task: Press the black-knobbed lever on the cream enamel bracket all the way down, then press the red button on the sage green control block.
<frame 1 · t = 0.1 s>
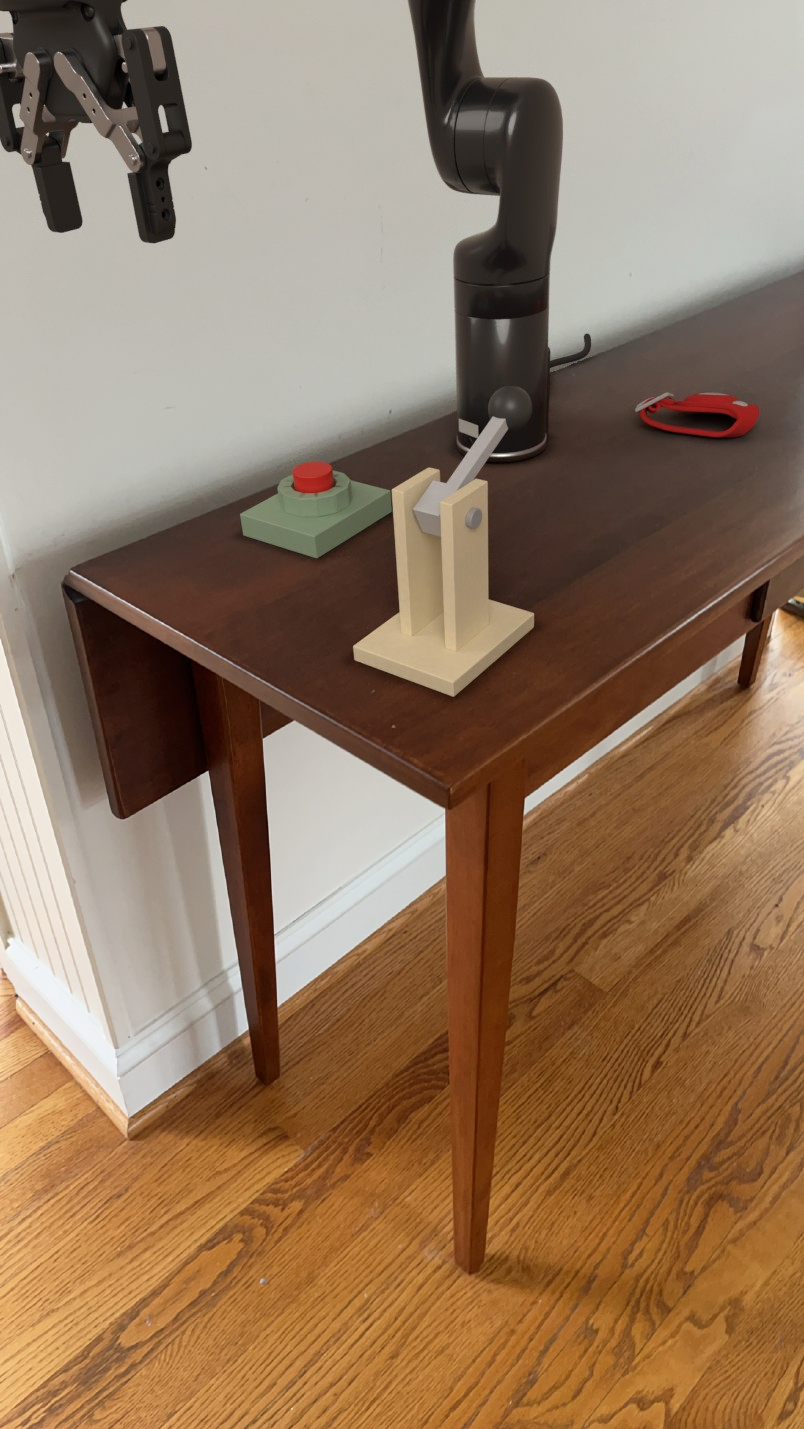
hand: (110, 235, 62), 29 cm above the table, tool pointing down, fingers open, 8 cm apart
lever bracket: (445, 643, 77), on the table
button block: (318, 523, 95), on the table
stop button: (313, 478, 93), point 4 cm above the table, slide at 0.1 cm
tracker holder: (694, 427, 110), on the table
press lever: (476, 457, 72), point 13 cm above the table, hinge at 25.0°
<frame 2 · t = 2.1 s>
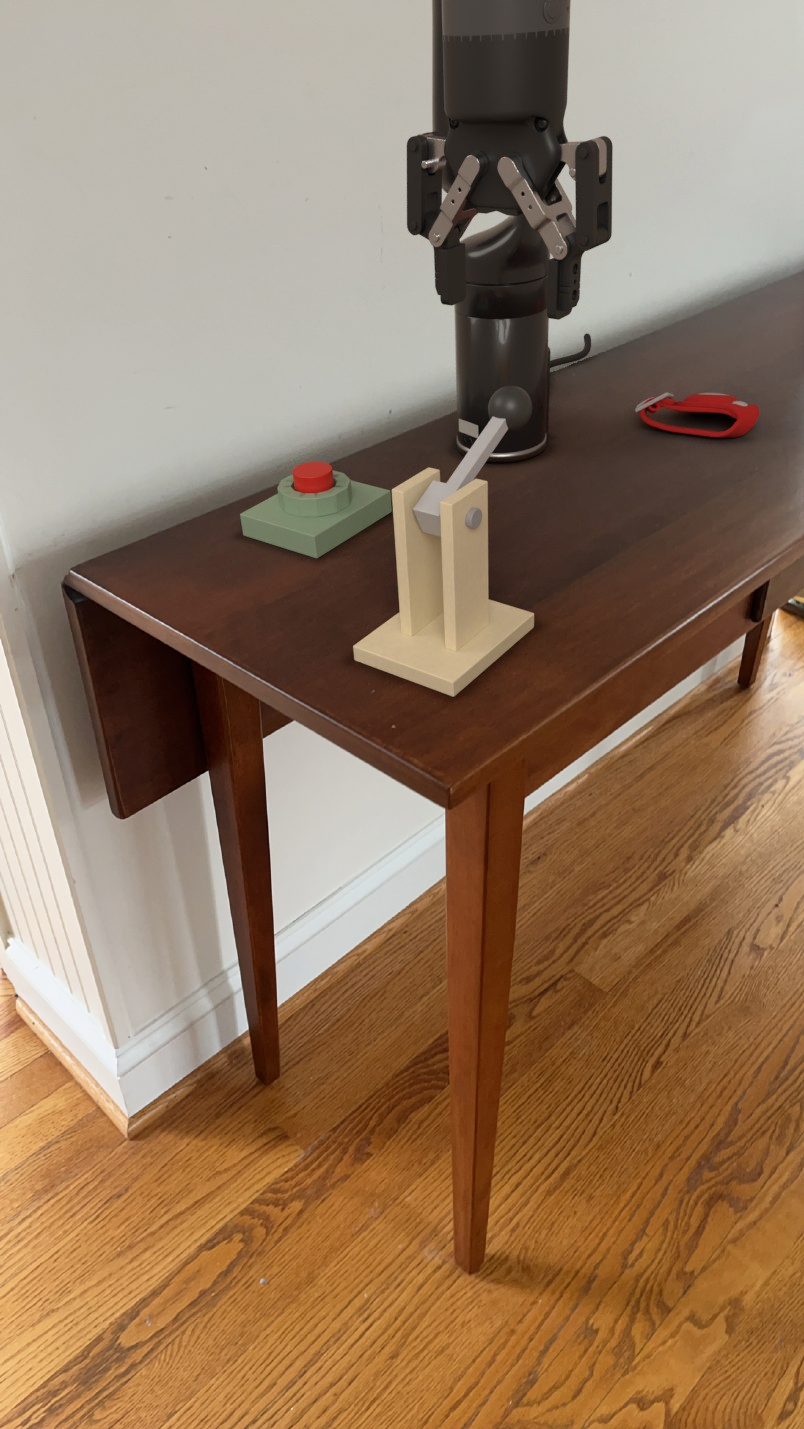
hand: (504, 309, 70), 22 cm above the table, tool pointing down, fingers open, 8 cm apart
nothing on the table moved.
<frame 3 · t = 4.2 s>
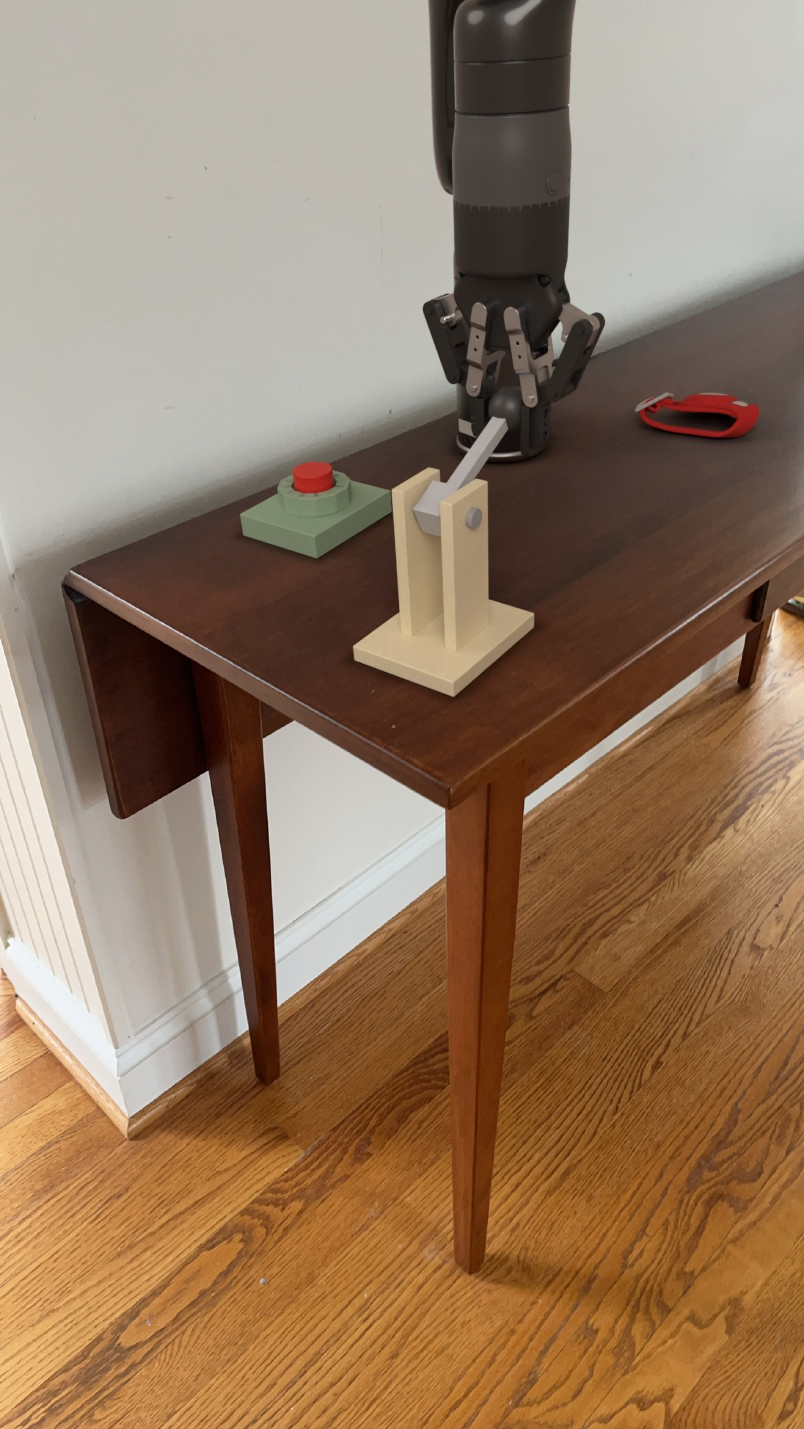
hand: (509, 446, 76), 12 cm above the table, tool pointing down, fingers closed on press lever, 3 cm apart
press lever: (476, 457, 72), point 13 cm above the table, hinge at 24.9°, touching gripper
everything else where it was.
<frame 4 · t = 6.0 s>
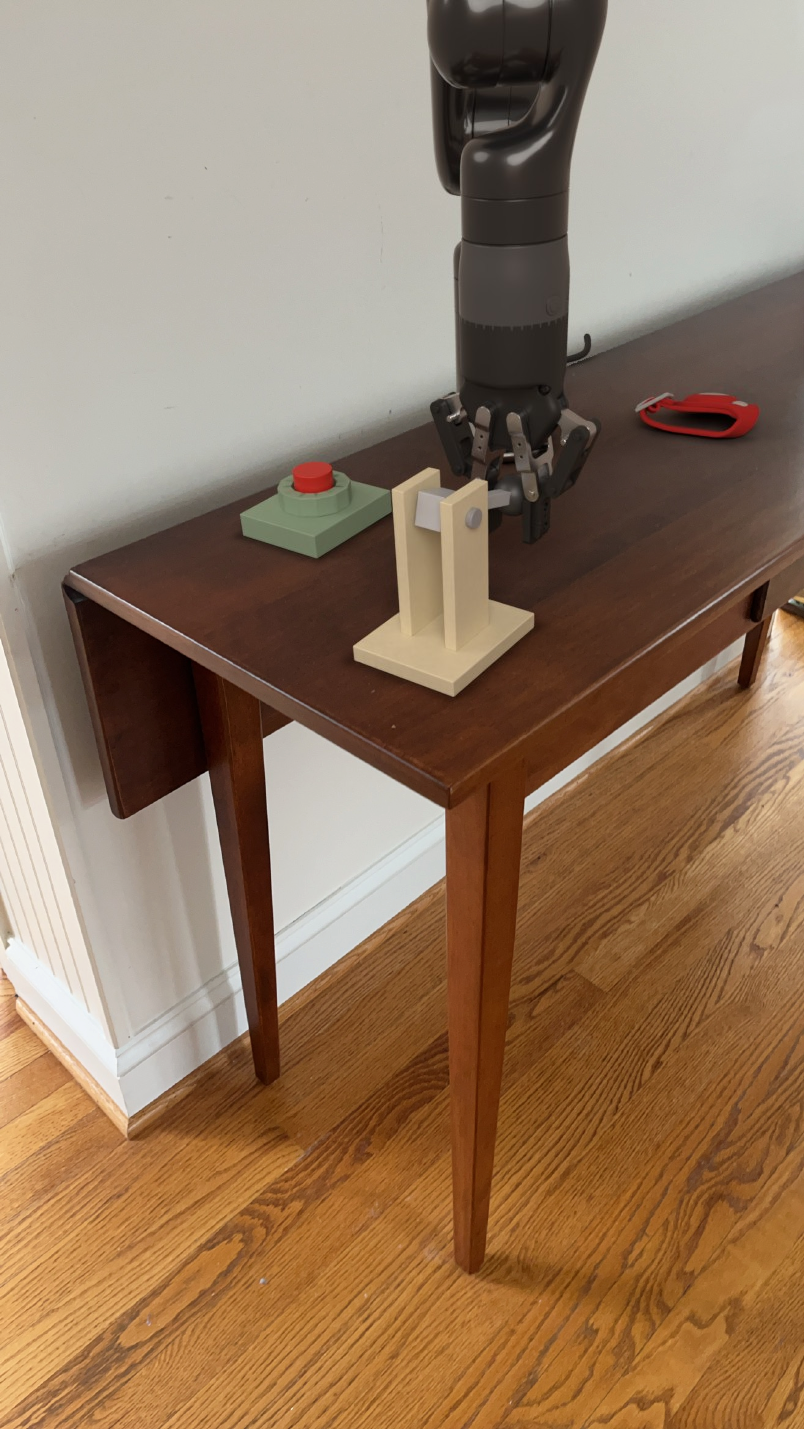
hand: (511, 533, 80), 5 cm above the table, tool pointing down, fingers closed on press lever, 3 cm apart
press lever: (479, 501, 75), point 10 cm above the table, hinge at -15.8°, touching gripper
everything else where it was.
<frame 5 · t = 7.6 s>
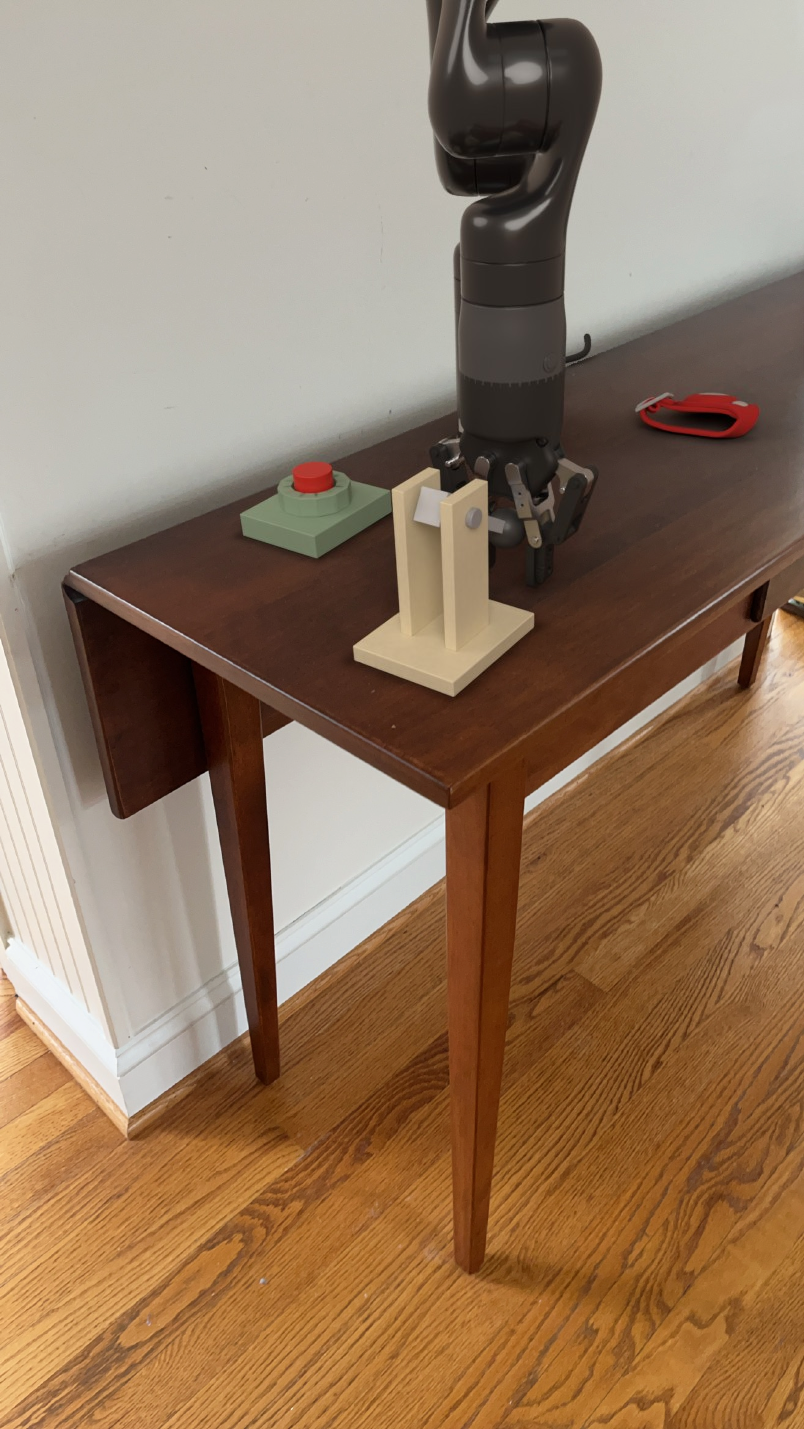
hand: (510, 575, 82), 2 cm above the table, tool pointing down, fingers open, 4 cm apart
press lever: (475, 519, 75), point 8 cm above the table, hinge at -30.5°
everything else where it was.
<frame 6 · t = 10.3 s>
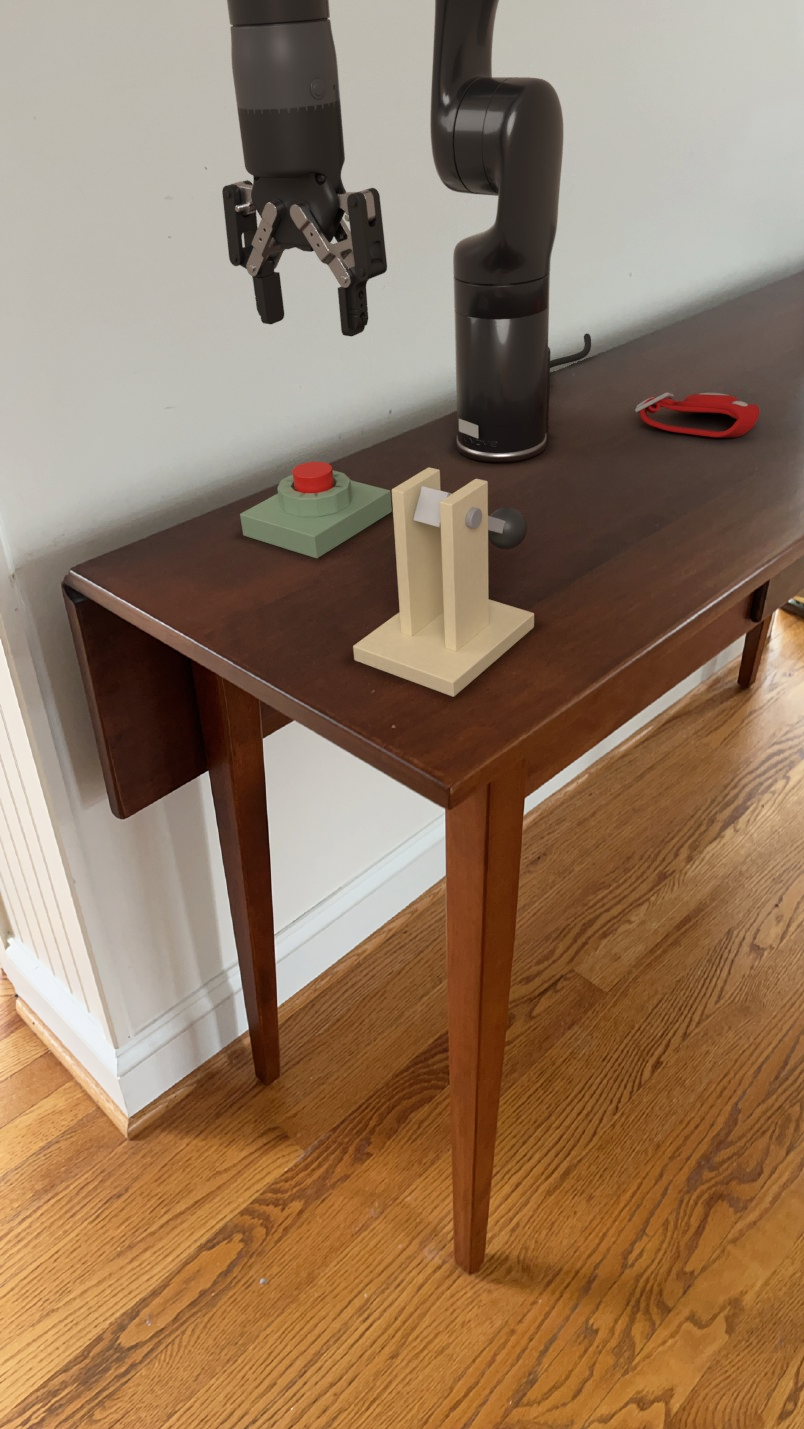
hand: (312, 327, 84), 18 cm above the table, tool pointing down, fingers open, 8 cm apart
nothing on the table moved.
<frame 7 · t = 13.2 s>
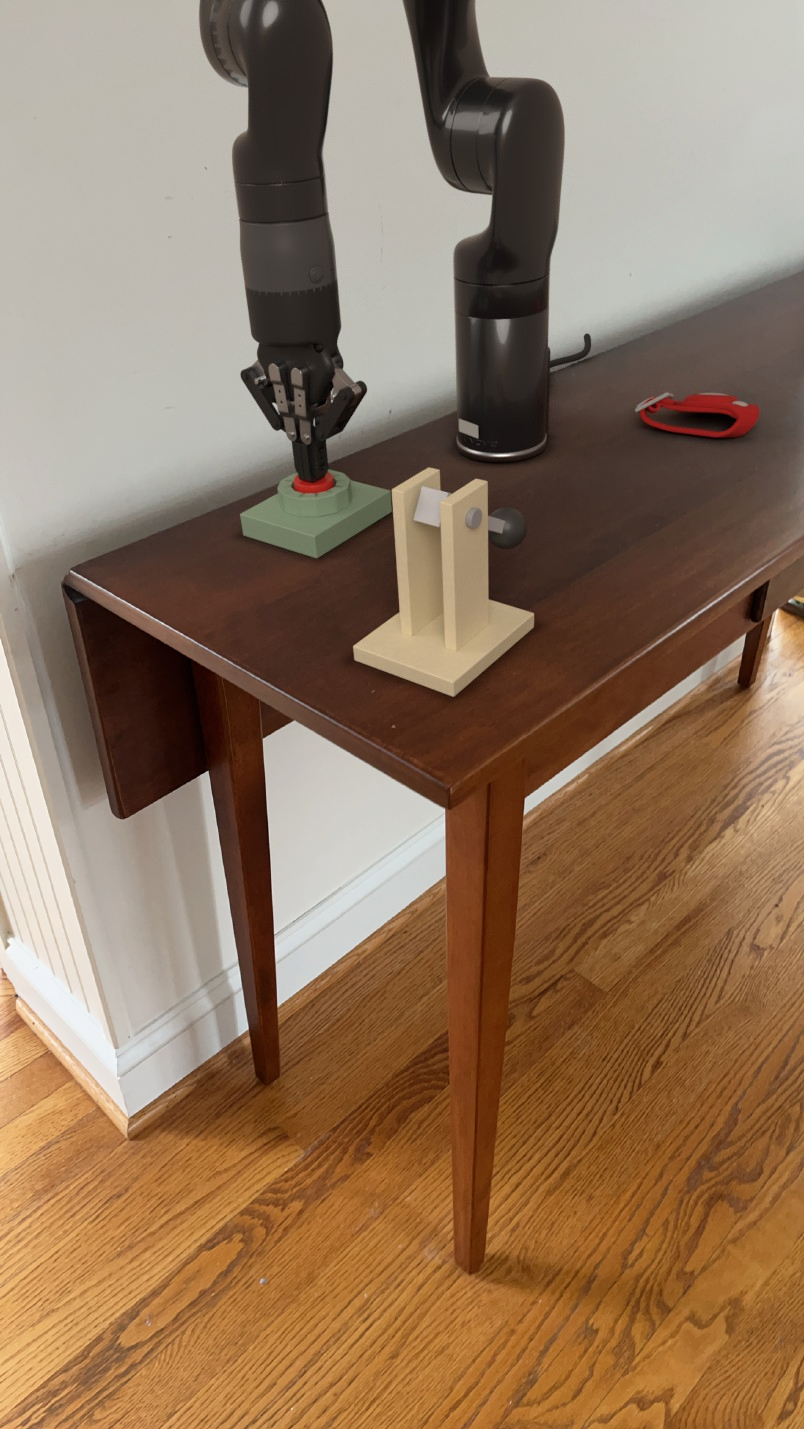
hand: (312, 478, 93), 5 cm above the table, tool pointing down, fingers closed
stop button: (314, 487, 93), point 4 cm above the table, slide at -0.7 cm, touching gripper
everything else where it was.
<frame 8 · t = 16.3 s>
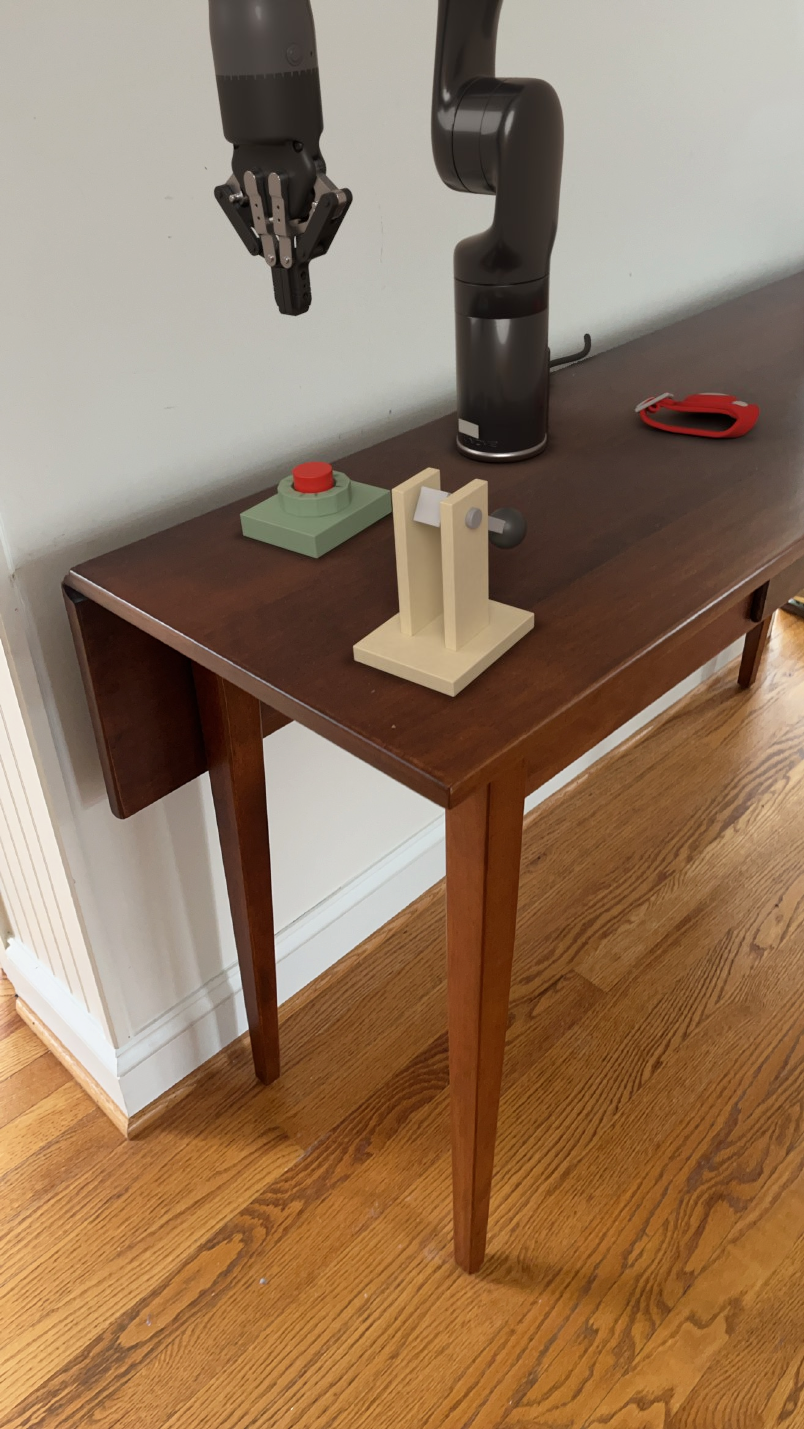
hand: (294, 312, 84), 19 cm above the table, tool pointing down, fingers closed
stop button: (313, 478, 93), point 4 cm above the table, slide at 0.1 cm
everything else where it was.
at the end: press lever at -30° (first picture: +25°); stop button pushed in 1.2 cm at the most during the clip, back to where it started at the end; stop button slide at 0.1 cm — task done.
